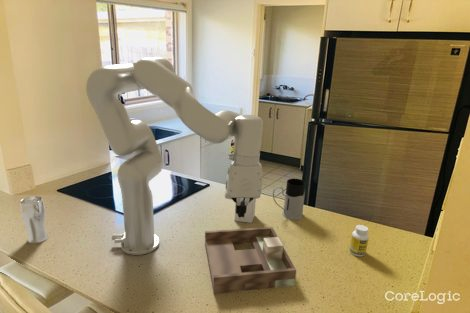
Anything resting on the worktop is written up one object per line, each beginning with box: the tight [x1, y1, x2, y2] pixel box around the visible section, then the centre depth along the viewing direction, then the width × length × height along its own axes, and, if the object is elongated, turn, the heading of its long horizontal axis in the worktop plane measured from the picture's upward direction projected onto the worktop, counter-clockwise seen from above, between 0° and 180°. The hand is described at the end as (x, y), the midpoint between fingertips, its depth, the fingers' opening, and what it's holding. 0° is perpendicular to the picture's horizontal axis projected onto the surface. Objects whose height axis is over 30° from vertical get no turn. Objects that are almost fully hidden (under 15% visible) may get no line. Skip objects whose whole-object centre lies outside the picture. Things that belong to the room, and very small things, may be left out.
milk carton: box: [234, 198, 257, 224], centre depth 130 cm, size 7×7×19 cm
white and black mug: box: [272, 178, 307, 221], centre depth 134 cm, size 9×14×15 cm, turn 107°
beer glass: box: [19, 195, 49, 245], centre depth 111 cm, size 7×7×15 cm
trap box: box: [204, 226, 297, 295], centre depth 104 cm, size 24×24×6 cm
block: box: [263, 236, 284, 260], centre depth 105 cm, size 5×5×5 cm
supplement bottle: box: [348, 224, 370, 257], centre depth 112 cm, size 5×5×10 cm
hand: (240, 215), depth 99 cm, fingers closed
